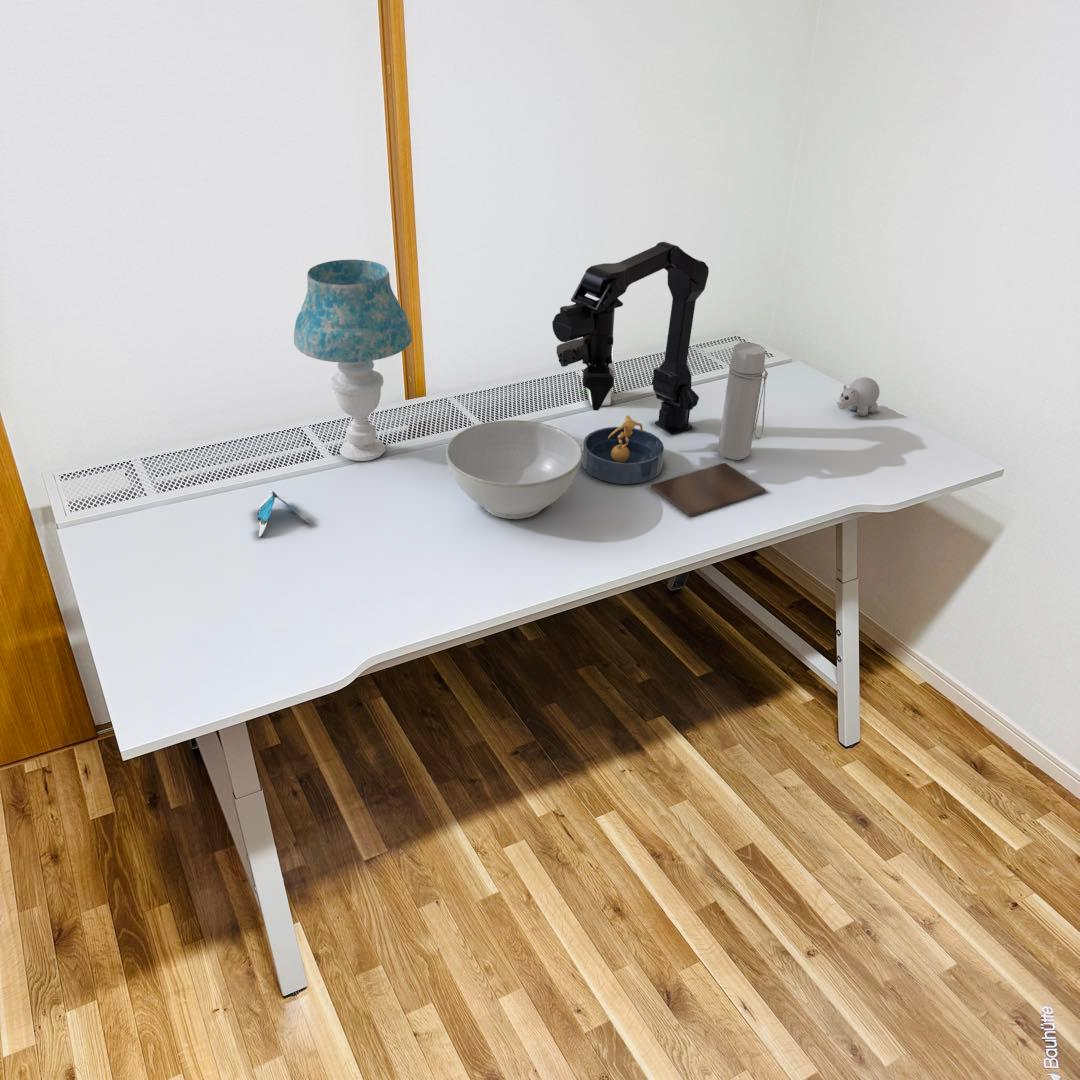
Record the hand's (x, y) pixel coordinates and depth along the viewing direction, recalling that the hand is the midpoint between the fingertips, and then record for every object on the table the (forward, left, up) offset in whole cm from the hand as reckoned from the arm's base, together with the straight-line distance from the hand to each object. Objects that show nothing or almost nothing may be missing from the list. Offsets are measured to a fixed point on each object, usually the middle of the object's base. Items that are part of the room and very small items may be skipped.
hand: (595, 400), depth 208 cm
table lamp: (+43, -27, -14) cm, 52 cm away
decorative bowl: (+25, +8, -14) cm, 29 cm away
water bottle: (-29, +14, -14) cm, 36 cm away
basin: (-4, +6, -14) cm, 16 cm away
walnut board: (-13, +23, -14) cm, 30 cm away
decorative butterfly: (+68, -9, -14) cm, 69 cm away
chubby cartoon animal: (-68, +11, -14) cm, 71 cm away
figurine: (-4, +6, -14) cm, 15 cm away
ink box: (-18, -25, -14) cm, 34 cm away
